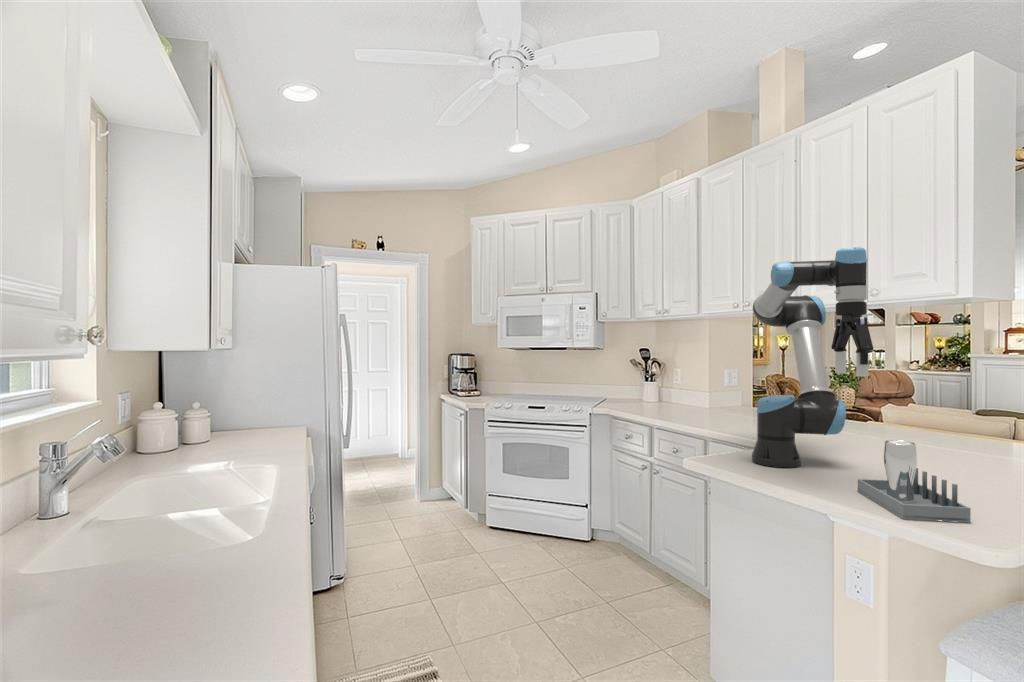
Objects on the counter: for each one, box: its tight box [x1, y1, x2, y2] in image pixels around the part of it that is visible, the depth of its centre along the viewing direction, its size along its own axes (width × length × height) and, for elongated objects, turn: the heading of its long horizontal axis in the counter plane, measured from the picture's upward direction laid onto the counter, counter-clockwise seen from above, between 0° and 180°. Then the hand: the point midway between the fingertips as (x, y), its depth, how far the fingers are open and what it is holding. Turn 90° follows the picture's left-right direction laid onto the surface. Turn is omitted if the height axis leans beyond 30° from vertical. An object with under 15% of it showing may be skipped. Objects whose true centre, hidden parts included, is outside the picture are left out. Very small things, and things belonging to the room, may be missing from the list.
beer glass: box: [883, 439, 918, 503], centre depth 135 cm, size 7×7×15 cm
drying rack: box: [857, 467, 971, 523], centre depth 133 cm, size 23×14×8 cm, turn 169°
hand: (851, 374), depth 150 cm, fingers open, 13 cm apart
